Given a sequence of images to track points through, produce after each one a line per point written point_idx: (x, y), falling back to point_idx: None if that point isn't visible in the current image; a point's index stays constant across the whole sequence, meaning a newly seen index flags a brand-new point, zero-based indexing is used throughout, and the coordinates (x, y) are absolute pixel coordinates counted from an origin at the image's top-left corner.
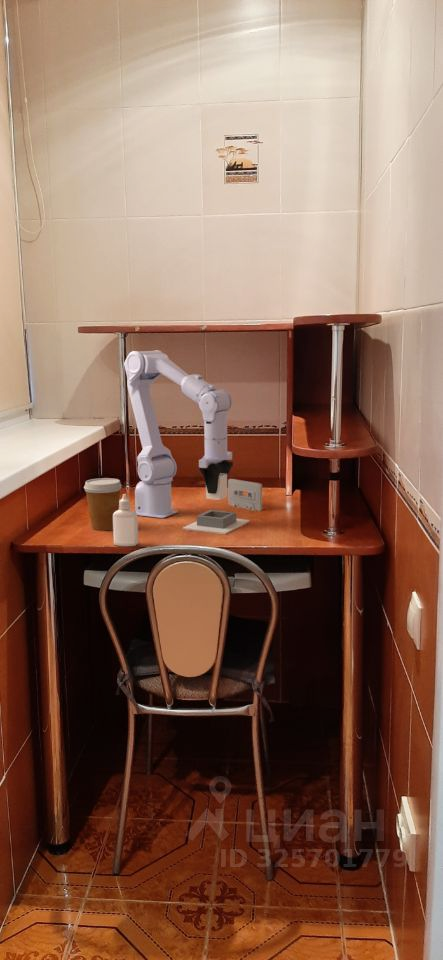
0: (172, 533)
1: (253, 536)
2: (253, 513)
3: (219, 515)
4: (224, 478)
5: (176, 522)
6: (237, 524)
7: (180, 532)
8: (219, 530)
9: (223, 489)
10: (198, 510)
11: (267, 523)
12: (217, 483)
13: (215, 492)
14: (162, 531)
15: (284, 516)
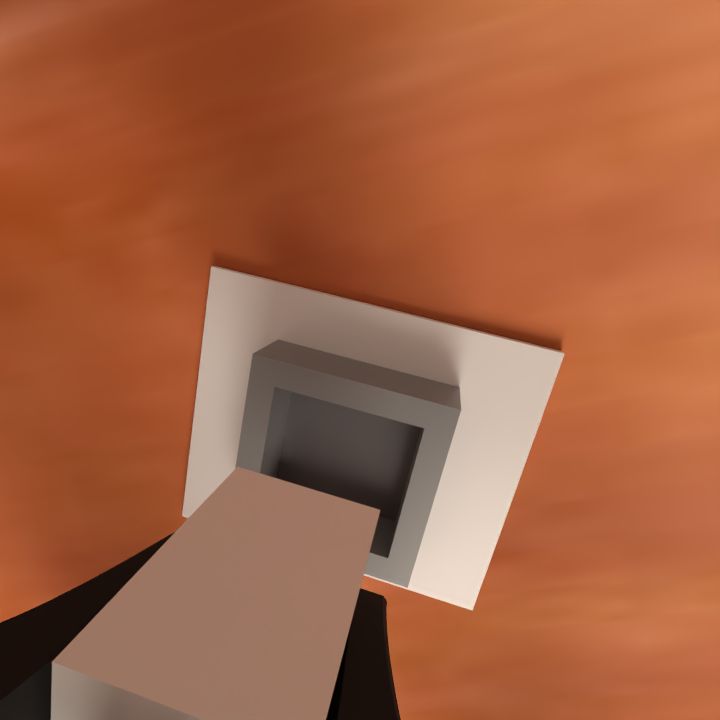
0: (575, 641)
1: (594, 143)
2: (29, 286)
3: (270, 456)
4: (180, 640)
5: None
6: (335, 319)
7: (546, 606)
8: (509, 401)
9: (277, 544)
10: (79, 578)
11: (223, 135)
12: (355, 679)
13: (383, 603)
14: (537, 691)
15: (22, 64)
